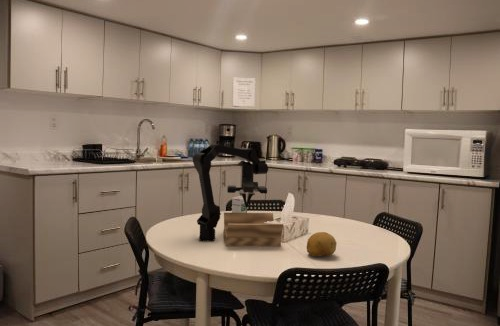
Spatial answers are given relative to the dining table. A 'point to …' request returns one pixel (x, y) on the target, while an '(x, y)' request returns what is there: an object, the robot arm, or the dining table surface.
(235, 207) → the syrup box
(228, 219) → the far flap
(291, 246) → the dining table surface
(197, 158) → the robot arm
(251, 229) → the near flap
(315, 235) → the potato
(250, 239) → the carton
